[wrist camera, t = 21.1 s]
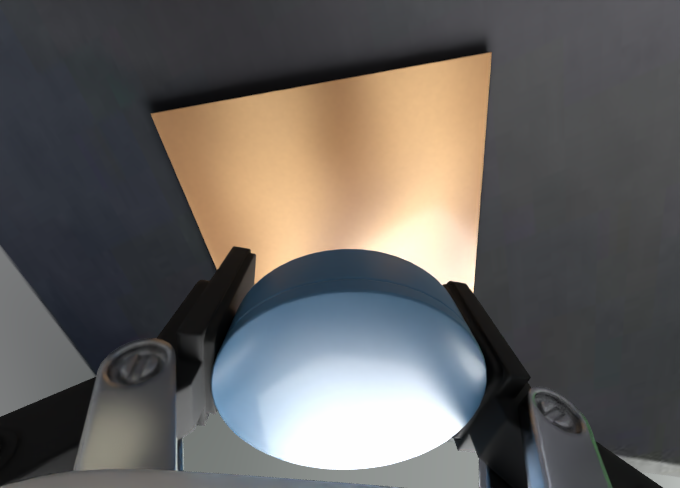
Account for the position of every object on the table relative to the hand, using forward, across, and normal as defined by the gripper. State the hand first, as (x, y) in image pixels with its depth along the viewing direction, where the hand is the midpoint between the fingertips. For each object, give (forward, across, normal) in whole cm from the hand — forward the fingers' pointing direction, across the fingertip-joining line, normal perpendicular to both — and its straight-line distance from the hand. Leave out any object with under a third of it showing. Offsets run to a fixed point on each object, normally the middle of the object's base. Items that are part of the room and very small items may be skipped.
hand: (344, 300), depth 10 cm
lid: (-3, 0, 0) cm, 3 cm away
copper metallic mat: (+7, 0, 0) cm, 7 cm away
